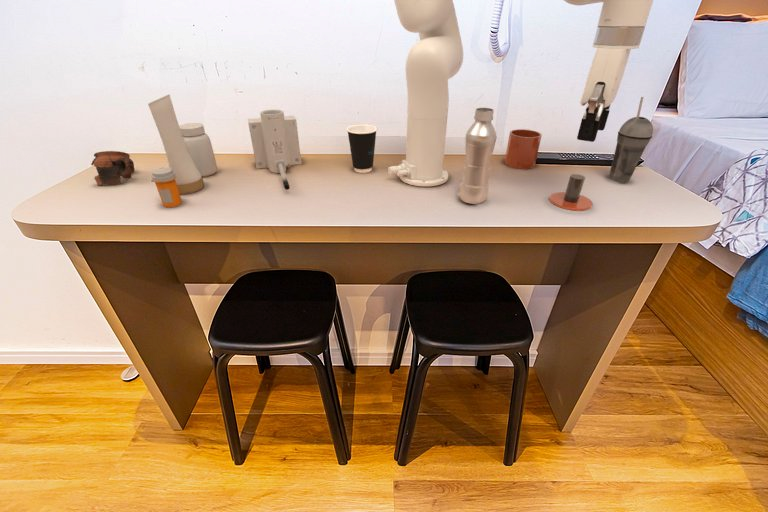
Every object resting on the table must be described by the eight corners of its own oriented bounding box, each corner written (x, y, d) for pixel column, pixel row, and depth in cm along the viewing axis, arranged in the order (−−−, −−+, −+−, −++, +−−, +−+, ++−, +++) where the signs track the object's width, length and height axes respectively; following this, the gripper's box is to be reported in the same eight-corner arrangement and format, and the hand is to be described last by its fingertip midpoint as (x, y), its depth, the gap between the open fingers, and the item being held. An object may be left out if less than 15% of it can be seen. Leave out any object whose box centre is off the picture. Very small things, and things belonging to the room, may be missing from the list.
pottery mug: (85, 187, 95) (80, 153, 94) (122, 190, 104) (118, 159, 103) (119, 180, 91) (114, 145, 90) (155, 184, 100) (151, 151, 99)
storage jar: (518, 170, 104) (524, 139, 100) (498, 161, 110) (503, 131, 106) (541, 166, 107) (548, 135, 102) (520, 157, 113) (526, 128, 109)
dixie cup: (380, 173, 102) (380, 131, 96) (350, 176, 101) (349, 133, 95) (374, 163, 109) (373, 123, 103) (346, 165, 107) (344, 125, 101)
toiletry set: (194, 168, 105) (171, 87, 94) (222, 167, 105) (202, 86, 94) (150, 208, 84) (115, 110, 73) (185, 208, 84) (155, 110, 73)
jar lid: (570, 216, 82) (579, 187, 78) (540, 200, 88) (547, 172, 85) (600, 208, 85) (609, 180, 81) (568, 193, 91) (576, 167, 88)
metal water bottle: (488, 197, 90) (502, 107, 79) (484, 209, 84) (499, 114, 73) (460, 193, 91) (471, 104, 80) (455, 205, 86) (465, 112, 75)
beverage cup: (639, 186, 95) (672, 101, 84) (607, 184, 96) (636, 99, 86) (629, 175, 101) (659, 94, 90) (599, 173, 102) (625, 93, 92)
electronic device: (299, 158, 112) (292, 104, 104) (314, 192, 92) (307, 128, 83) (255, 162, 109) (245, 107, 101) (261, 199, 88) (249, 133, 80)
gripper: (603, 35, 77) (580, 123, 86) (584, 40, 65) (560, 142, 74) (646, 36, 73) (617, 128, 83) (635, 42, 61) (603, 148, 71)
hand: (590, 134), depth 78 cm, fingers open, 9 cm apart
